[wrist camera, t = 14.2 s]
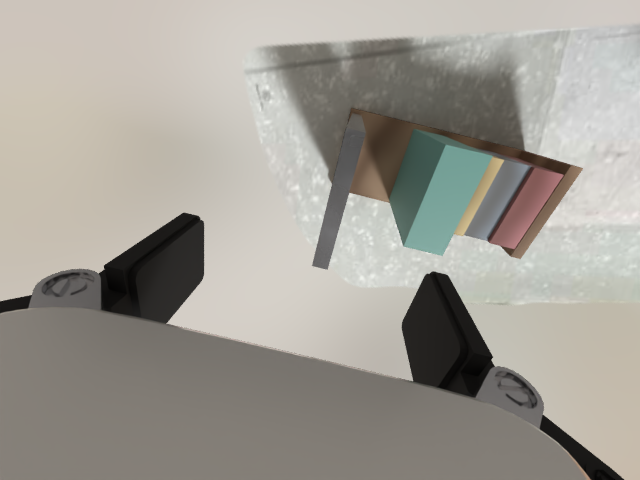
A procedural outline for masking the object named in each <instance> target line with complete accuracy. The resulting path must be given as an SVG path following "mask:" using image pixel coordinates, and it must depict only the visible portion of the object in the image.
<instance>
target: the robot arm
mask: <svg viewBox="0 0 640 480" xmlns="http://www.w3.org/2000/svg"><path fill="white" fill-rule="evenodd" d="M104 269H105V270H103V271H102V272H100V273H99V274H98V273H97V272H95V271H92V270H88V269H71V270H66V271H61V272H58V273H55V274H52V275H50V276H48V277H46V278H44V279H42V280H41V281H40V282H39V283H38V284H37V285H36V286H35V288H34V290H33V293H32V295H30V296H25V297H20V298H15V299H10V300H5V301H0V480H624V479H623V478H621V477H620V476H619V475H618V474H617V473H616V472H615V471H613V470H612V469H611V468H610V467H609V466H607V465H606V464H605V463H603V462H602V461H601V460H600V459H598V458H597V457H596V456H594V455H593V454H592V453H591V452H590V451H588V450H587V449H586V448H584V447H583V446H582V445H581V444H579V443H578V442H577V441H575V440H574V439H573V438H572V437H571V436H569V435H568V434H567V433H565V432H564V431H563V430H562V429H560V428H559V427H558V426H557V425H555V424H554V423H553V422H552V421H550V420H549V419H548V418H546V417H545V416H544V415H543V411H544V406H543V405H544V404H543V401H542V398H541V396H540V395H539V394H538V392H537V391H536V389H535V388H534V387H533V386H532V385H531V384H530V383H529V382H528V381H527V380H526V379H525V378H523V377H522V376H521V375H519V374H518V373H516V372H514V371H512V370H510V369H508V368H505V367H500V366H497V367H495V366H494V364H493V363H492V361H491V359H492V358H493V356H492V354H491V353H490V351H489V349H488V347H487V345H486V344H485V342H484V340H483V338H482V336H481V334H480V333H479V331H478V329H477V328H476V325H475V323H474V322H473V320H472V318H471V316H470V315H469V313H468V311H467V309H466V307H465V305H464V304H463V302H462V300H461V298H460V296H459V294H458V293H457V291H456V289H455V287H454V285H453V284H452V282H451V280H450V278H449V276H448V275H446V274H442V273H437V272H431V273H430V274H426V275H425V277H424V279H423V281H422V283H421V285H420V287H419V289H418V291H417V293H416V295H415V297H414V299H413V301H412V303H411V305H410V307H409V309H408V311H407V313H406V316H405V317H404V319H403V322H402V331H403V336H404V340H405V345H406V350H407V354H408V359H409V363H410V368H411V372H412V377H413V381H409V380H405V379H401V378H396V377H392V376H388V375H384V374H379V373H376V372H371V371H367V370H363V369H359V368H355V367H350V366H346V365H342V364H338V363H334V362H330V361H326V360H321V359H317V358H313V357H309V356H304V355H300V354H296V353H292V352H287V351H283V350H279V349H274V348H270V347H266V346H262V345H257V344H253V343H249V342H245V341H240V340H236V339H231V338H227V337H222V336H218V335H214V334H210V333H205V332H201V331H196V330H192V329H187V328H183V327H178V326H174V325H170V324H166V323H167V322H168V321H169V320H170V318H171V317H172V316H173V315H174V314H175V312H176V311H177V310H178V309H179V308H180V306H181V305H182V304H183V303H184V302H185V300H186V299H187V298H188V297H189V296H190V294H191V293H192V292H193V291H194V290H195V288H196V287H197V286H198V285H199V284H200V282H201V281H202V279H203V276H204V222H203V221H202V220H200V217H199V216H196V215H192V214H188V213H182V214H181V215H179V216H178V217H176V218H175V219H174V220H172V221H170V222H169V223H167V224H166V225H164V226H163V227H161V228H160V229H159V230H157V231H155V232H154V233H152V234H151V235H149V236H148V237H146V238H145V239H143V240H142V241H140V242H139V243H137V244H136V245H134V246H133V247H131V248H130V249H128V250H127V251H125V252H124V253H122V254H121V255H119V256H118V257H116V258H115V259H113V260H112V261H110V262H109V263H107V264H105V265H104Z"/></svg>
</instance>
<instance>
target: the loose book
mask: <svg viewBox="0 0 640 480" xmlns="http://www.w3.org/2000/svg"><path fill="white" fill-rule="evenodd" d="M492 157H493V156H492V155H490V154H487V153H485V152H482V151H480V150H477V149H475V148H472V147H470V146H468V145H465V144H463V143H460V142H458V141H455V140H453V139H450V138H448V137H445V136H442V135H438V134H434V133H430V132H426V131H421V130H417V129H413V132H412V135H411V138H410V141H409V144H408V147H407V149H406V152H405V155H404V158H403V161H402V164H401V167H400V169H399V172H398V175H397V178H396V181H395V184H394V187H393V189H392V192H391V195H390V198H389V201H390V205H391V208H392V211H393V214H394V217H395V221H396V224H397V227H398V230H399V233H400V236H401V240H402V243H403V246H404V247H408V248H412V249H416V250H421V251H425V252H429V253H433V254H437V255H441V256H443V254H444V252H445V250H446V248H447V246H448V244H449V242H450V240H451V238H452V236H453V234H454V232H455V230H456V228H457V226H458V224H459V222H460V220H461V218H462V216H463V214H464V212H465V210H466V208H467V206H468V204H469V202H470V200H471V198H472V196H473V194H474V192H475V190H476V189H477V187H478V185H479V183H480V181H481V179H482V177H483V175H484V173H485V171H486V169H487V167H488V165H489V163H490V161H491V159H492Z"/></svg>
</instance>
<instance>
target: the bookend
mask: <svg viewBox="0 0 640 480" xmlns="http://www.w3.org/2000/svg"><path fill="white" fill-rule="evenodd" d="M365 134H366V131H365V127H364V123H363V119H362V115H359V114H355V113H352V115H351V118H350V120H349V122H348V124H347V127H346V130H345V134H344V138H343V142H342V146H341V150H340V154H339V158H338V162H337V166H336V171H335V175H334V179H333V183H332V187H331V191H330V195H329V199H328V203H327V207H326V211H325V215H324V220H323V224H322V228H321V232H320V236H319V240H318V244H317V248H316V252H315V257H314V261H313V265H312V266H315V267H319V268H323V269H328V266H329V262H330V259H331V255H332V252H333V248H334V244H335V241H336V237H337V234H338V230H339V227H340V223H341V220H342V216H343V212H344V209H345V205H346V202H347V198H348V195H349V191H350V187H351V184H352V180H353V177H354V173H355V170H356V166H357V162H358V159H359V155H360V152H361V148H362V145H363V141H364V138H365Z"/></svg>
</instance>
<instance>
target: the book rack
mask: <svg viewBox="0 0 640 480" xmlns="http://www.w3.org/2000/svg"><path fill="white" fill-rule="evenodd" d="M352 113H355V114H359V115H362V119H363V123H364V127H365V131H366V134H365V138H364V141H363V145H362V148H361V152H360V155H359V159H358V162H357V166H356V170H355V173H354V177H353V180H352V184H351V187H350V191H349V193H353V194H357V195H361V196H365V197H369V198H373V199H377V200H381V201H385V202H389V203H390V201H389V198H390V195H391V192H392V189H393V187H394V184H395V181H396V178H397V175H398V172H399V169H400V167H401V164H402V161H403V158H404V155H405V152H406V149H407V147H408V144H409V141H410V138H411V135H412V132H413V129H417V130H421V131H426V132H430V133H434V134H438V135H442V136H445V137H448V138H450V139H453V140H455V141H458V142H460V143H463V144H465V145H468V146H470V147H472V148H475V149H477V150H480V151H482V152H485V153H487V154H490V155H492V156H493V157H492V159H491V161H490V163H489V165H488V167H487V169H486V171H485V173H484V175H483V177H482V179H481V181H480V183H479V185H478V187H477V189H476V190H475V192H474V194H473V196H472V198H471V200H470V202H469V204H468V206H467V208H466V210H465V212H464V214H463V216H462V218H461V220H460V222H459V224H458V226H457V228H456V230H455V232H454V234H456V235H460V236H463V235H466V236H470V237H474V238H478V239H482V240H486V241H488V242H489V243H492V244H496V245H500V246H501V247H502V248H503V249H504V250H505V251H506V252H507V253H508V254H509V255H510V256H511V257H515V258H519V259H521V257H522V256H523V255H524V253H525V252H526V250H527V249H528V247H529V246H530V244H531V243H532V242H533V240H534V239H535V237H536V236H537V234H538V233H539V231H540V230H541V229H542V227H543V226H544V224H545V223H546V221H547V220H548V218H549V217H550V216H551V214H552V213H553V211H554V210H555V208H556V207H557V205H558V204H559V203H560V201H561V200H562V198H563V197H564V195H565V194H566V192H567V191H568V190H569V188H570V187H571V185H572V184H573V182H574V181H575V179H576V178H577V177H578V175H579V174H580V172H581V171H582V169H583V168H580V167H577V166H574V165H570V164H567V163H564V162H560V161H557V160H554V159H550V158H547V157H544V156H540V155H537V154H534V153H530V152H527V151H523V150H519V149H515V148H511V147H507V146H503V145H499V144H495V143H491V142H487V141H483V140H479V139H475V138H471V137H467V136H463V135H459V134H455V133H451V132H447V131H443V130H439V129H435V128H431V127H426V126H422V125H418V124H414V123H410V122H406V121H402V120H398V119H394V118H390V117H386V116H382V115H378V114H374V113H370V112H366V111H362V110H358V109H354V108H351V112H350V116H349V120H350V118H351V115H352ZM349 120H348V122H349Z"/></svg>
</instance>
